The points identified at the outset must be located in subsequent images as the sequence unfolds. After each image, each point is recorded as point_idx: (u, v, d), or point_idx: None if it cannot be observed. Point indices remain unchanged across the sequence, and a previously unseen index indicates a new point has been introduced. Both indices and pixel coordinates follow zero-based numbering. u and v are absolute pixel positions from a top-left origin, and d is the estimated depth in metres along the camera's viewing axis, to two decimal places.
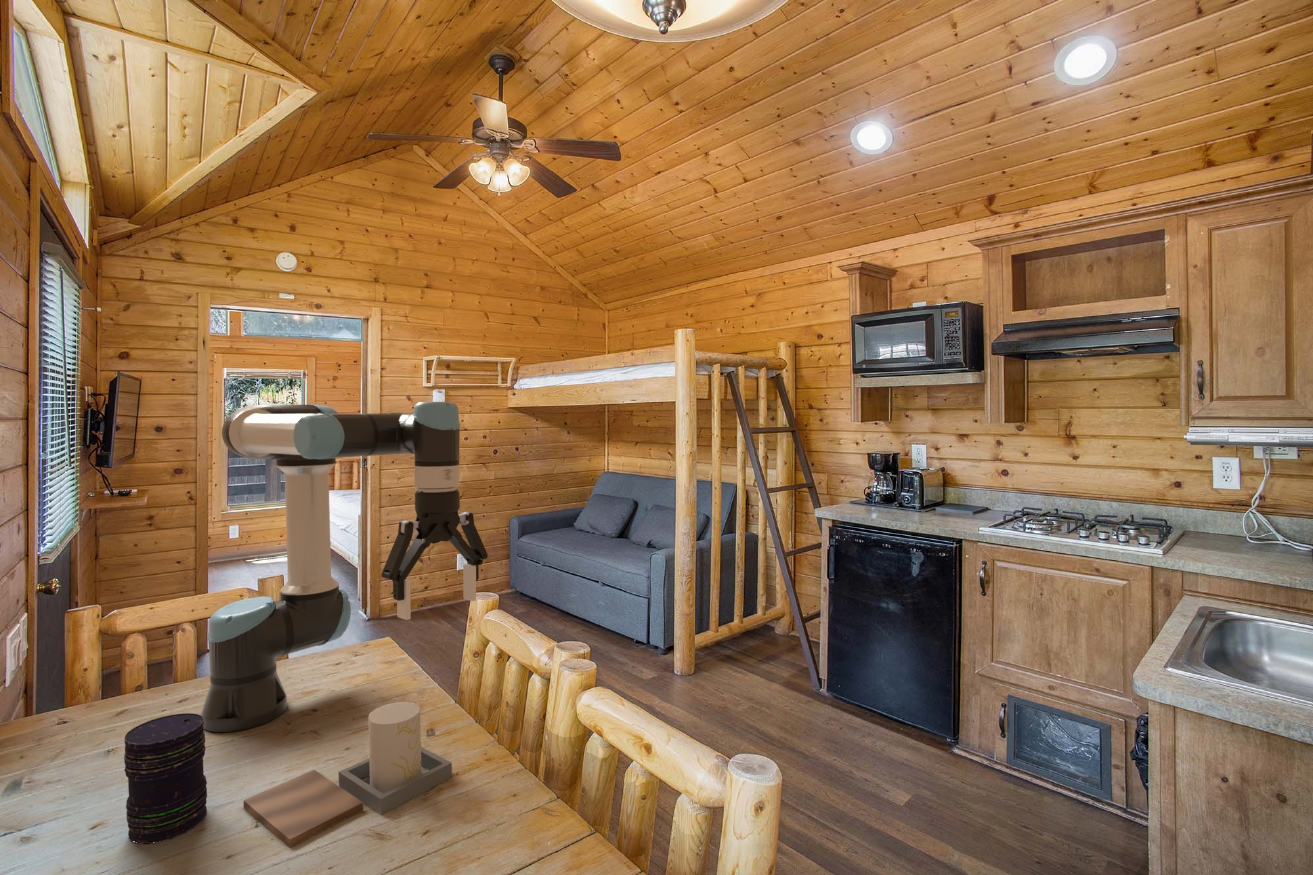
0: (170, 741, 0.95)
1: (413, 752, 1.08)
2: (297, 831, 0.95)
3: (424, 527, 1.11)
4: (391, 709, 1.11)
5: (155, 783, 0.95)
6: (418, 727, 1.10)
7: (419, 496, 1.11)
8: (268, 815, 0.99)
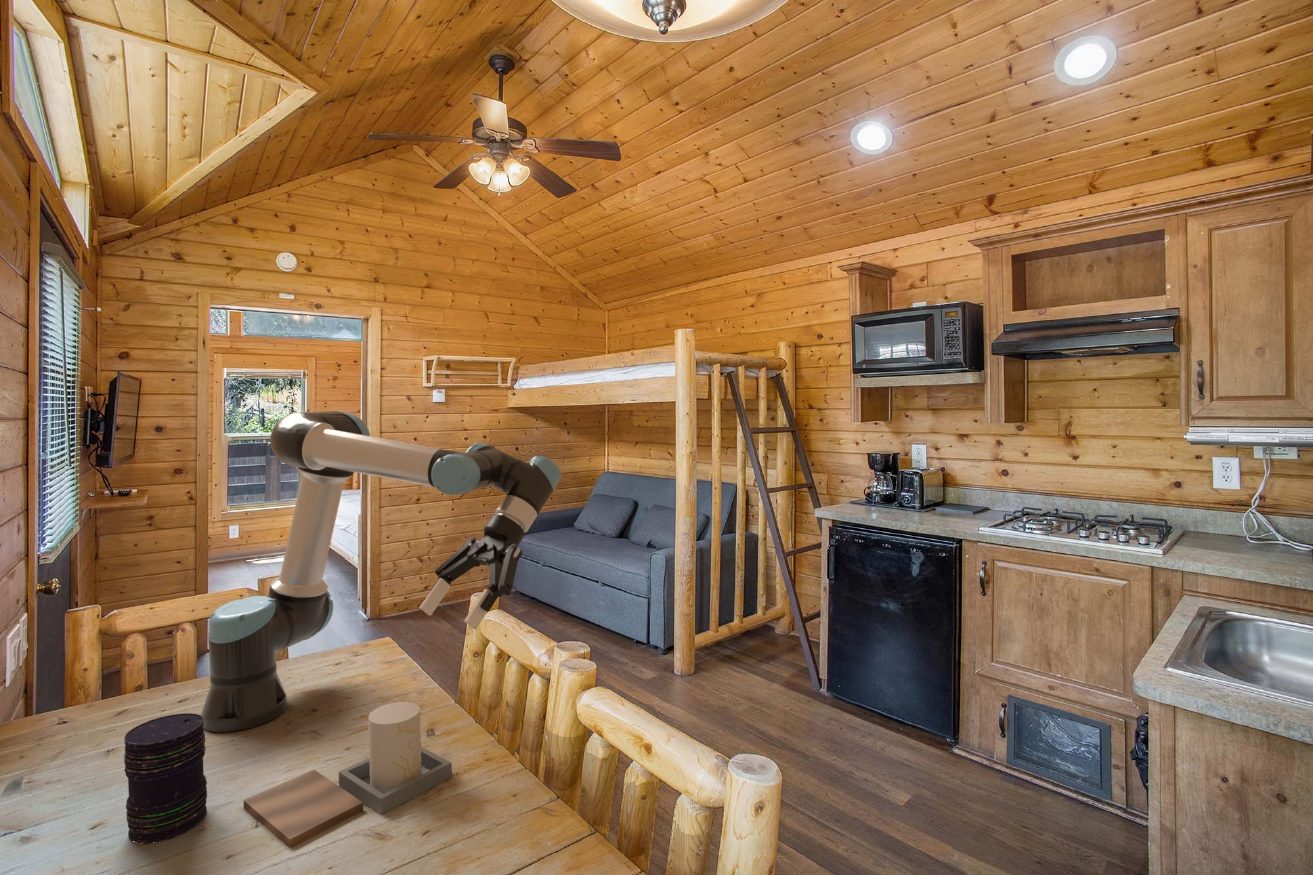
0: (170, 741, 0.95)
1: (413, 752, 1.08)
2: (297, 831, 0.95)
3: None
4: (391, 709, 1.11)
5: (155, 783, 0.95)
6: (418, 727, 1.10)
7: (520, 530, 1.26)
8: (268, 815, 0.99)
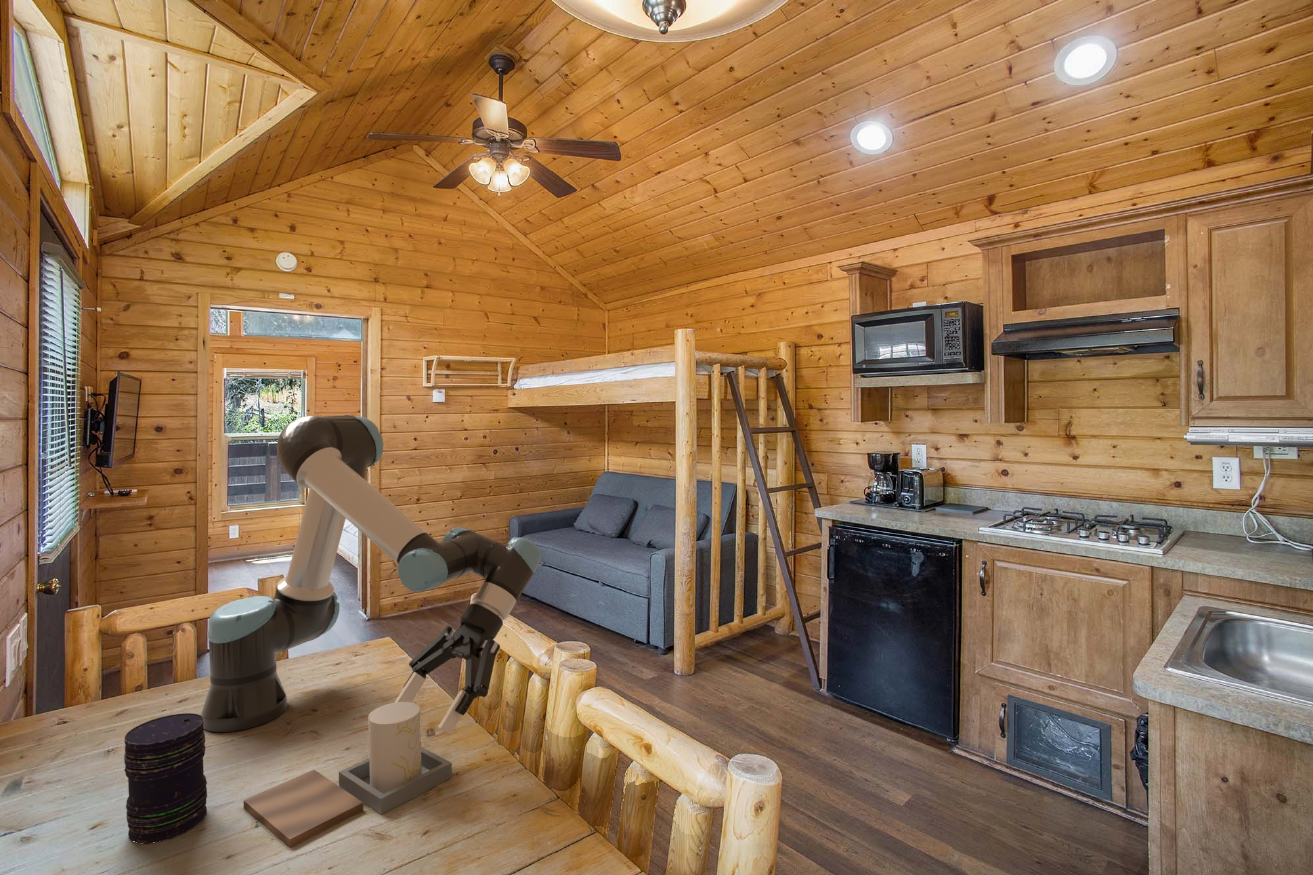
0: (170, 741, 0.95)
1: (413, 752, 1.08)
2: (297, 831, 0.95)
3: None
4: (391, 709, 1.11)
5: (155, 783, 0.95)
6: (418, 727, 1.10)
7: (498, 620, 1.21)
8: (268, 815, 0.99)
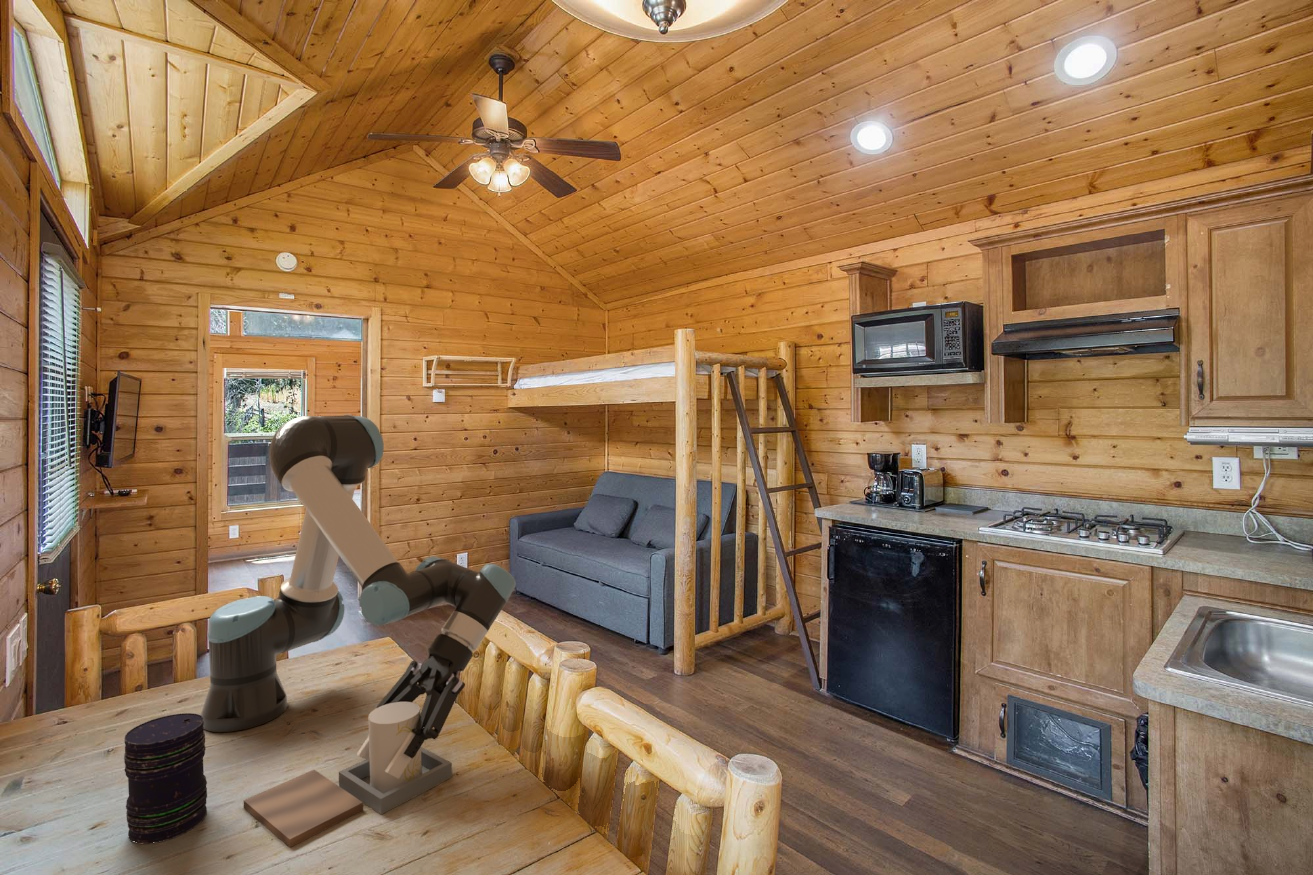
0: (170, 741, 0.95)
1: None
2: (297, 831, 0.95)
3: None
4: (391, 709, 1.11)
5: (155, 783, 0.95)
6: None
7: (467, 652, 1.17)
8: (268, 815, 0.99)
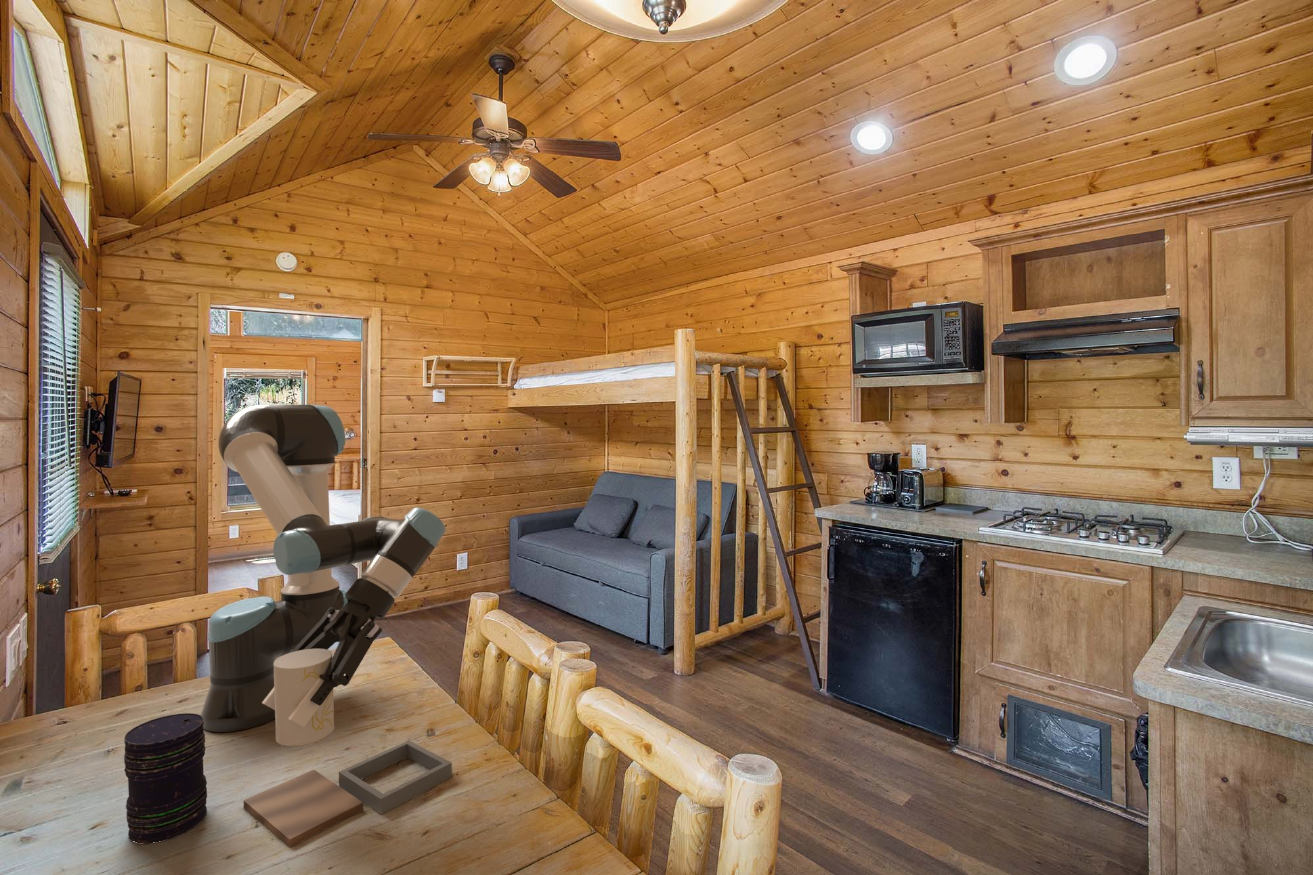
0: (170, 741, 0.95)
1: None
2: (297, 831, 0.95)
3: None
4: (301, 655, 1.03)
5: (155, 783, 0.95)
6: None
7: (387, 597, 1.09)
8: (268, 815, 0.99)
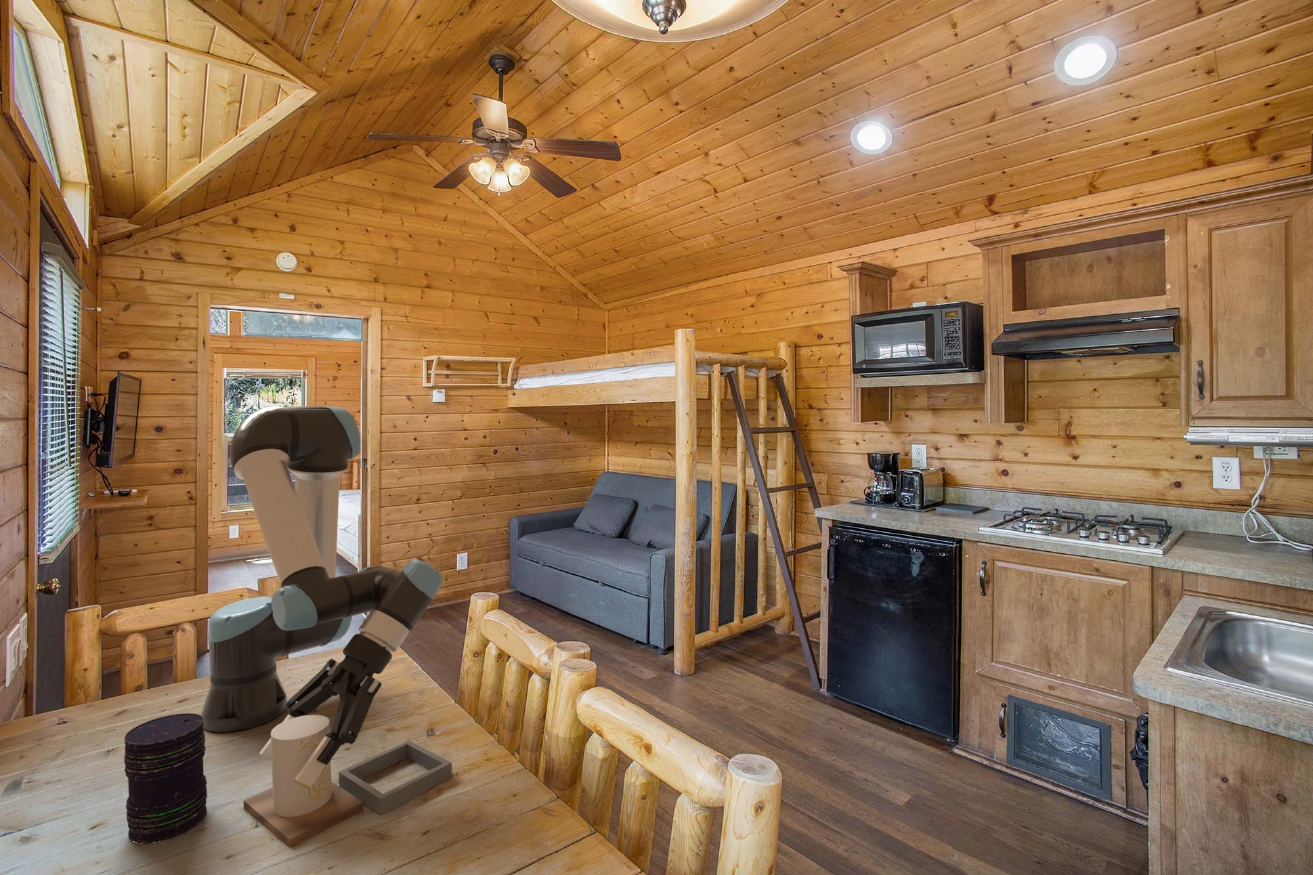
0: (170, 741, 0.95)
1: None
2: (297, 831, 0.95)
3: None
4: (298, 723, 1.03)
5: (155, 783, 0.95)
6: None
7: (384, 653, 1.09)
8: (268, 815, 0.99)
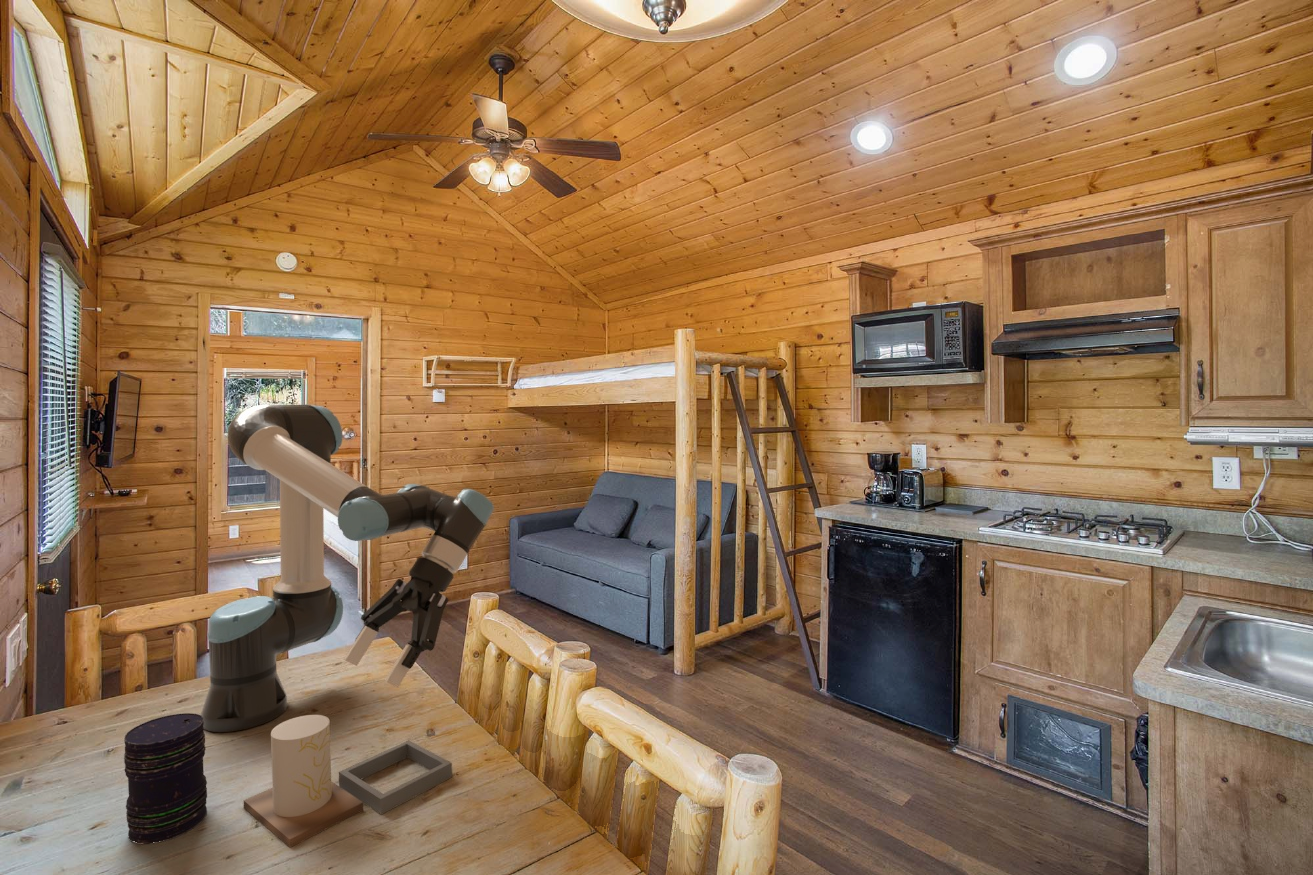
0: (170, 741, 0.95)
1: (319, 769, 1.01)
2: (297, 831, 0.95)
3: None
4: (298, 723, 1.03)
5: (155, 783, 0.95)
6: (326, 742, 1.02)
7: (447, 573, 1.20)
8: (268, 815, 0.99)
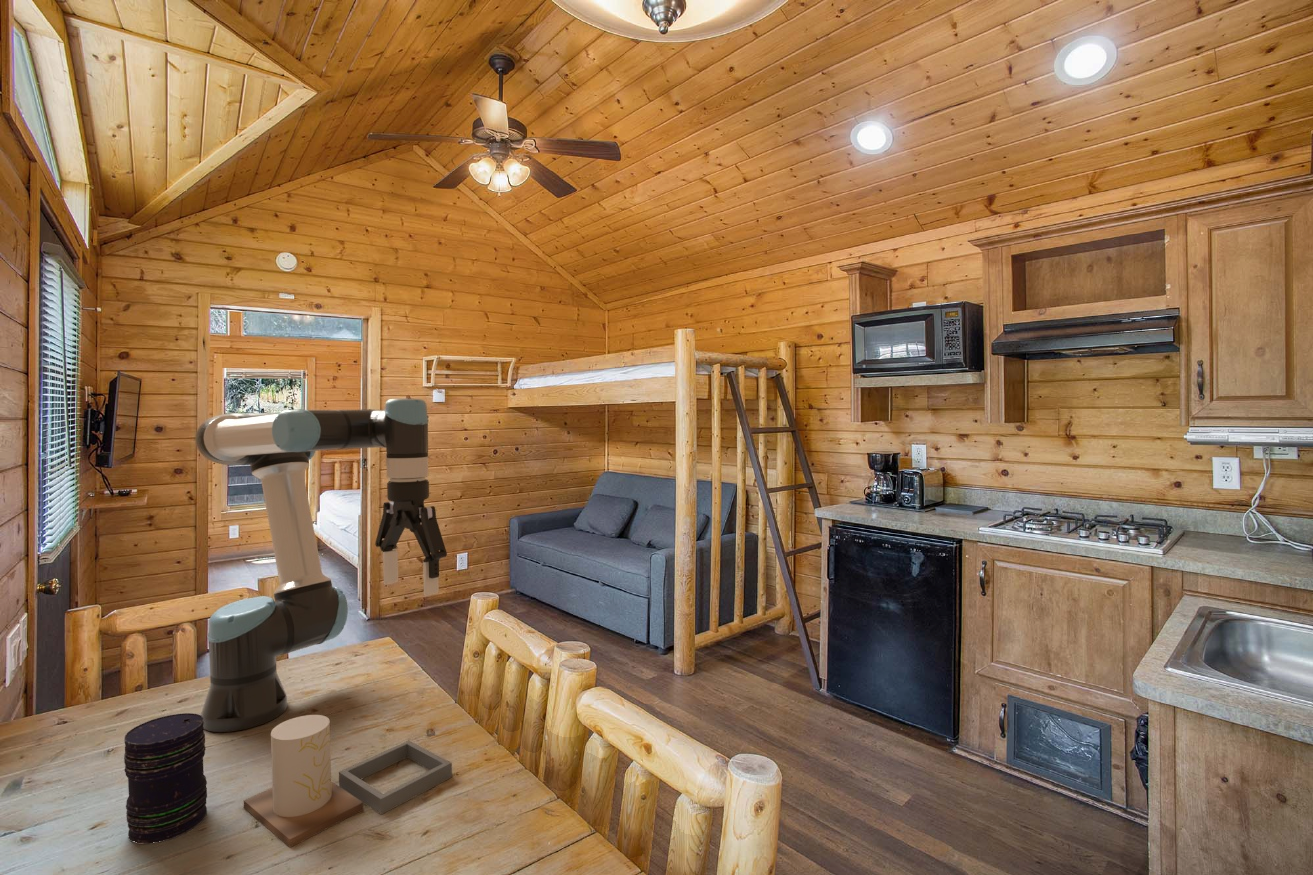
0: (170, 741, 0.95)
1: (319, 769, 1.01)
2: (297, 831, 0.95)
3: None
4: (298, 723, 1.03)
5: (155, 783, 0.95)
6: (326, 742, 1.02)
7: (420, 485, 1.22)
8: (268, 815, 0.99)
